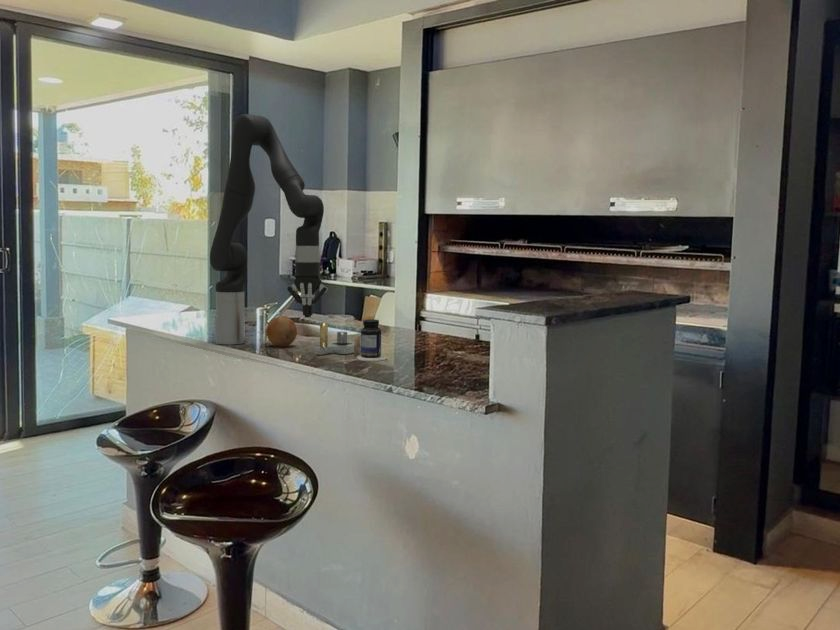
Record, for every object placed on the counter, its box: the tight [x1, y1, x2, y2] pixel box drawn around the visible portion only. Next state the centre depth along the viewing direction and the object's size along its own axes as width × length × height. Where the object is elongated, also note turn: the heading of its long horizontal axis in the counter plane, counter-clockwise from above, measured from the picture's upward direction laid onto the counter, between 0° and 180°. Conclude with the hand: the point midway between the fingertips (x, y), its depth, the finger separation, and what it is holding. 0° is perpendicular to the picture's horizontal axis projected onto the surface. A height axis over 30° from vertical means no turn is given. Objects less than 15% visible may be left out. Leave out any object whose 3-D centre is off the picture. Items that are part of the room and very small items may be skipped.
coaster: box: [356, 354, 388, 362], centre depth 231 cm, size 9×9×1 cm
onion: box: [266, 315, 298, 348], centre depth 251 cm, size 10×10×10 cm
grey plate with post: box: [313, 322, 361, 356], centre depth 242 cm, size 18×12×9 cm
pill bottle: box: [360, 318, 382, 358], centre depth 230 cm, size 6×6×11 cm
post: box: [336, 331, 348, 345], centre depth 244 cm, size 3×3×6 cm
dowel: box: [353, 335, 361, 357], centre depth 235 cm, size 2×2×6 cm
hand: (308, 317), depth 236 cm, fingers closed
